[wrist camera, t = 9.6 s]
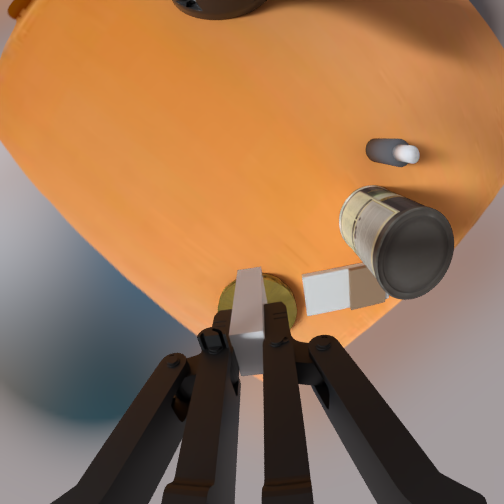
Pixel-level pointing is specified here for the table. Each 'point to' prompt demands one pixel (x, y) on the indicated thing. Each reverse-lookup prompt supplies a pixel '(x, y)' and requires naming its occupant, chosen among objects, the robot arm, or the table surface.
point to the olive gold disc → (274, 293)
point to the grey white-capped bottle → (392, 152)
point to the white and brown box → (341, 289)
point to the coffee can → (397, 240)
